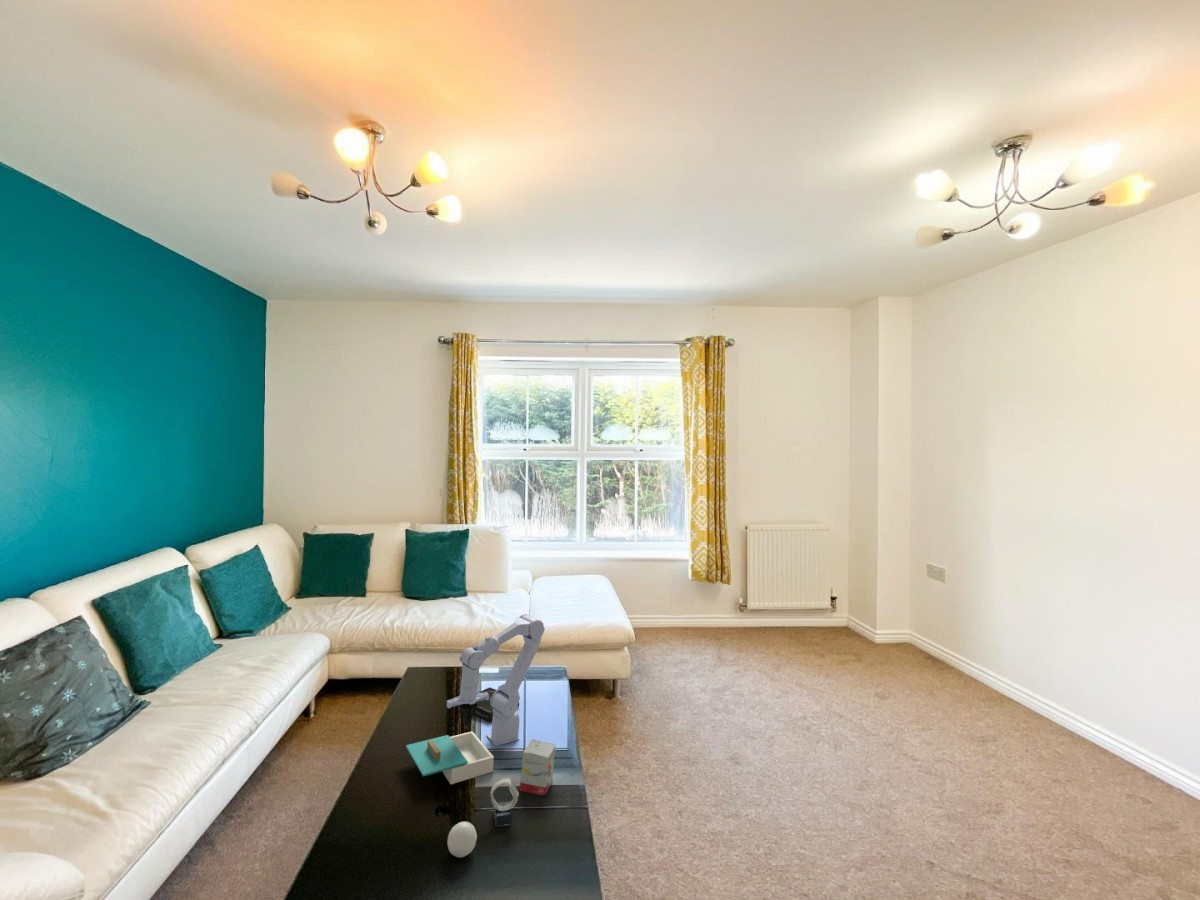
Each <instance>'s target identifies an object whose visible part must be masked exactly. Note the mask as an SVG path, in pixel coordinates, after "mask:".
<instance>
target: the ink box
mask: <svg viewBox="0 0 1200 900" xmlns="http://www.w3.org/2000/svg"><path fill="white" fill-rule="evenodd" d="M556 747H557V746H556V744H554V743H551V742H545V741H542V740H536V739H531V740H530V742H529V743H528V745H526V747H525V749H524V750H523V753H522V762H521V763H522V764H521V771H520V773H521V774H520V780H519V781H520V782H519V791H520V792H525V793H529V794H534V795H539V796H543V795H545V794H546V795H547V792H548V791H549V789H550V786H551V784H552V781H553V775H554V768H555V767H554V765H555V755H556ZM546 795H545V796H546Z"/></svg>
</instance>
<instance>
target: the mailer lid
mask: <svg viewBox="0 0 1200 900" xmlns="http://www.w3.org/2000/svg"><path fill="white" fill-rule="evenodd" d="M450 737H451V736H450V735H449V734H446V735H443V736H438V737H435V738H430V739H426V740H422V741H418V742H417V741H416V742H414V743H410V744H407V745H406V746H405V748H406V749H407V751H408V753H409V755H410V756H411V758H412V760H413V761H414V763H415V766H417V768H418V771H419V772H420V774H421V776H422V777H425V776H430V775H433V774H436V773H441V772H442V771H444V770H447V769H451V768H454V767H458V766H461V765H465V764H468V761H467V760H466V758H465V757H464V756H463V754H462V753H461V752H460V750H459V749H458V748H457V746H456V745H455V744H454V742H453V741H452V740H451V738H450Z"/></svg>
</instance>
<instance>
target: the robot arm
mask: <svg viewBox="0 0 1200 900" xmlns="http://www.w3.org/2000/svg"><path fill="white" fill-rule="evenodd" d="M545 631H546V630H545V626H544V623H543V621H542V620H541V619H537V618H535V617H532V616H530V615H529V614H527V613H523V614H521V615H519V616H518V617H516V618H515V620H514V622H512V623H511V624H510V625H509V626H508V627H506V628H505V629H503V630H502V631H501V632H499V633H498V634H497V635H496V636H492V635H490V636H486V637H485V639H483V640H481V642H479V643H477V644H475V645H473V647H467V648H465V649H464V650H462V653H461V655H460V656H459V661H460V663H461V664H462V665H461V668H462V669H461V670H462V671H461V680H460V683H461V684H460V690H459V696H456V697H453V698H451V699H448V700H446V708H447V709H451V708H452V707H457V706H458V707H459V710H460V712H461V718H462V724H463V725H464V727H466V726H470V723H471V720H472V717H473V716H474V715H473V713H474V711H475V710H476V708H477V704H476V701H481V700H489V694H488V693H487V692H485V693H478V688H479V675H480V668H481V666H483V664H484V662H485V661H486V659H488V658H489V657H490V656H492V655H493V654H495V653H497V652H498V651H499V650H500V647H501V645H503V644H505V643H506V642H509V641H510V640H511V639H513V638H515V637H517V636H522V638H523V641H524V643H523V645H522V648H521V650H520V652H519V654H518V655H517V658H516V660H515V663H514V664H513V666H512V668H511V670H510V672H509V674H508V676H507V678H506V681H505V683H503V684H501V685H498V687H497V689H496V690H497V691H496V692H495V693H494V694H493V695H492V697H491V699H490V705H491V707H492V708H493V720H492V722H491V731H490V732H489V733H487V734H486V736H487V738H488V739H489V740H490V741H491V743H492V744H493V745H494V746H501V745H504V744H507V743H512V742H515V741H519V740H520V737H519V734H520V733H519V729H520V715H519V713H518V711H517V710H518V708H519V707H518V702H519V703H520V700H521V696H520V692H519V689H520V688H521V685H522V683H523V681H524V678H525V677H526V674H527V672H528V671H529V668H530V666H531V665H532V662H533V659H534V658H535V656H536V654H537V651H538V650H539V647H540V645H541V641H542V636H543V634H544V633H545ZM506 694H507V695H506Z"/></svg>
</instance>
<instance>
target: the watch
mask: <svg viewBox="0 0 1200 900" xmlns="http://www.w3.org/2000/svg"><path fill="white" fill-rule="evenodd" d="M502 785H507V787H508V790H509V792H510V794H511V796H512V800H511V801H503V802H497V801H496V799H495V796H494V793H495V791H496V789H497V788H499V787H500V786H502ZM489 795H490V801H491V803H492V804H491V805H492V806H493V814H494V816H493V820H494V819H495V822H494V826H495V825H496V826H498V825H504V824H511V825H512V823H513V822H512V819H513V812H512V809H513V808H514V806H516V805H517V804H516V803H517V802H518V800H519V799H518V797H519V796H520V794H519V791H518V788H517V786H516V783H515V781H514V780H513V778H509V777H503V778H499V779H497V781H495V782H494V783H493V785H492V787H491V789H490V793H489ZM493 814H492V815H493Z"/></svg>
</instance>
